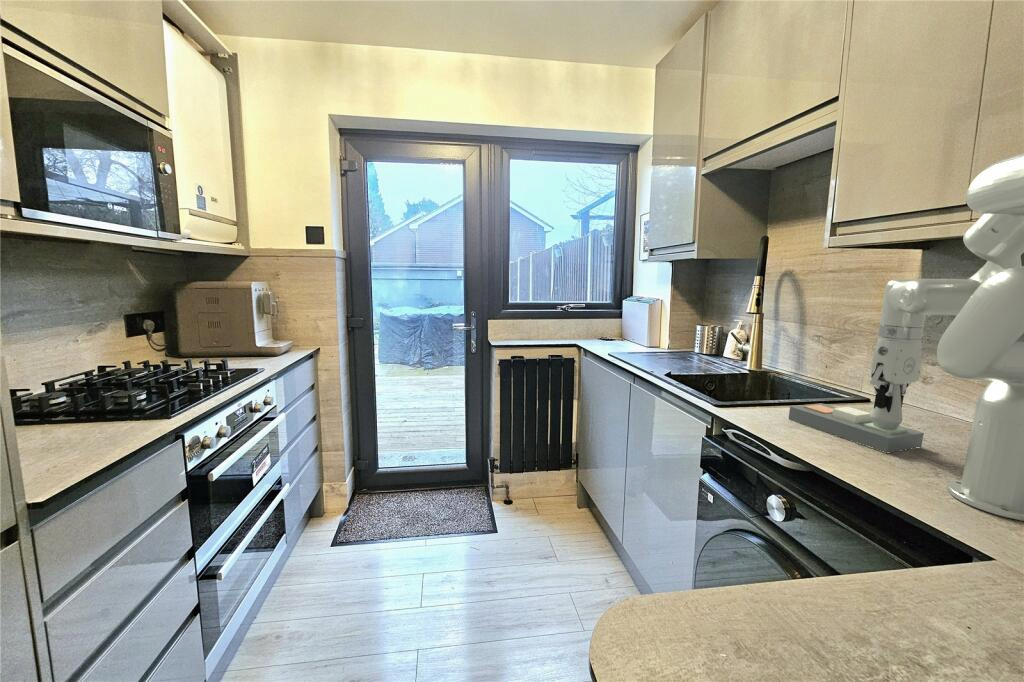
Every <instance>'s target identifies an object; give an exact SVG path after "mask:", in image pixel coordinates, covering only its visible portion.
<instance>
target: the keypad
mask: <svg viewBox="0 0 1024 682" xmlns="http://www.w3.org/2000/svg"><path fill="white" fill-rule="evenodd" d="M811 405H822V406H826V407H829V408H832V409H834V408H837V407H836V406H832V405H830V404H829V405H828V404H826V403H822V402H821V403H810V404H802V405H800V404H799V405H791V406H789V411H788V420H790V421H794V422H796V423H799V424H801V425H805V426H806V427H807V426H808V427H810V428H813V429H815V428H816V429H815V430H818V429H819V431H821V430H822V432H824V431H825V432H824V433H827V432H828V434H830V433H831V434H830V435H833V434H834V435H833V436H835V435H837V436H836V437H838V436H840V437H839V438H841V437H843V438H842V439H844V438H846V439H845V440H847V439H849V440H848V441H850V440H852V441H855V442H858V443H861V444H864V445H867V446H870V447H873V448H875V449H878V450H881V451H884V452H886V453H885V454H888V453H887V452H893V451H899V452H901V451H900V450H905V449H910V450H912V449H911V448H916V447H921V448H922V445H923V439H924V436H925V435H924V433H925V432H923V431H918V430H915V429H911V428H908V427H904V426H901V425H899V426H898V427H899V428H902V429H905V430H906V433H899V434H892V435H890V434H887V433H883V432H880V431H877V430H874V429H871V428H867V427H864V424H868V423H872V420H871V422H866V423H858V424H855V423H851V422H848V421H845V420H842V419H839V418H835V417H832V413H831V414H823V413H820V412H816V411H813V410H810V409H807V408H804V407H805V406H811ZM852 441H851V442H852ZM855 442H854V443H855ZM858 443H857V444H858ZM861 444H860V445H861ZM864 445H863V446H864ZM867 446H866V447H867ZM870 447H869V448H870ZM875 449H874V450H875ZM916 449H917V448H916ZM878 450H877V451H878ZM881 451H880V452H881ZM905 451H906V450H905ZM884 452H883V453H884ZM893 453H894V452H893Z"/></svg>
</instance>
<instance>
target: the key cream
mask: <svg viewBox="0 0 1024 682" xmlns="http://www.w3.org/2000/svg"><path fill="white" fill-rule="evenodd" d="M870 413H871V412H867V411H864V410H862V409H861V410H860V409H859V408H858V409H857V408H854V407H850V406H845V407H844V406H843V407H836V408H834V409H833V413H832V417H835V418H839V419H842V420H845V421H848V422H851V423H855V424H858V423H866V422H871V417H870Z"/></svg>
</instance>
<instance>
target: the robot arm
mask: <svg viewBox="0 0 1024 682" xmlns="http://www.w3.org/2000/svg"><path fill="white" fill-rule="evenodd" d="M965 201H966V204H967V206H968V207H969V209H970V210H972V211H973V212H974V213H975V212H976V213H978V214H981V216H979V218H977V220H976V221H975V222H974V223H972V225H971V226H970V227H969V228H968V229H967V230H966V231H965V232H964V234H963V238H962V239H963V240H962V241H963V245H965V247H966V248H967V250H969V251H970V252H971V253H972V254H974V255H976V256H977V257H979V258H981V259H982V260H984V261H986V262H985V264H984V265H983V266H982V267H981V268H980V269H979V270H978V271H976V272H975V273H974V274H973V275H972V276H971V277H969V278H915V279H912V278H911V279H909V278H908V279H904V278H903V279H900V278H897V279H896V278H895V279H890V280H889V281H888V282H887V283H886V285H885V287H884V294H883V299H882V306H881V307H882V308H881V314H880V321H879V326H878V333H877V342H876V345H875V348H874V352H873V355H872V358H871V359H872V361H871V364H870V375H869V376H870V378H871V380H869V381H870V382H869V384H870V385H871V387H873V388H874V393H875V397H874V404H873V406H874V409H875V407H876V406H877V407H878V408H881V409H882V408H885V407H886V409H887V411H888V413H889V412H890V410H891V406H892V400H893V396H891V393H892V389H893V384H902V385H900V393H901V407H902V408H903V404H904V398H905V395H906V394H907V388H908V387H909V386H910V385H911V384H913V383H916V382H918V381H919V379H920V376H921V369H922V357H923V356H922V355H923V345H922V340H923V339H922V338H923V334H924V333H923V332H924V329H925V328H924V327H925V323H926V317H927V316H929V315H930V316H955V317H954V319H952V321H951V322H950V324H949V325H948V327H947V328H946V329H945V331H944V333H943V334H942V336H941V338H940V339H939V341H938V344H937V348H936V359H937V363H938V364H939V366H940V368H941V369H942V370H943V371H945V372H946V373H948V375H950V376H953V377H956V378H959V379H965V380H975V381H976V380H977V381H990V382H989V383H988V384H987V385H986V386H985V387H984V388H983V390H982V391H981V393H980V395H979V396H978V399H977V401H976V406H975V409H974V410H975V411H974V415H973V420H972V426H971V429H970V435H969V439H968V444H967V445H968V446H967V452H966V455H965V462H964V466H963V471H962V476H961V477H962V478H961V479H959V480H953V481H950V482H949V483H948V485H947V491H948V493H949V494H950V495H951V496H953V498H955V499H957V500H959V501H960V502H963V503H965V504H966V505H969V506H971V507H972V508H973V507H974V508H976V509H979V510H981V511H984V512H987V513H989V514H993V515H996V516H1000V517H1004V518H1006V519H1007V518H1008V519H1011V520H1017V521H1022V522H1024V265H1022V258H1021V257H1022V254H1024V152H1021V153H1018V154H1014V155H1011V156H1009V157H1006V158H1003V159H1000V160H998V161H996V162H994V163H993V164H991V165H989V166H987V167H985V169H983V170H982V171H981V172H980V173H978V174H977V175H976V177H975V178H974V179H973V180H972V181H971V183H970V184H969V186H968V188H967V191H966V195H965ZM882 378H883V379H885V380H886V381H889V382H886V381H882ZM883 384H886V385H887V388H886V386H885V385H883Z"/></svg>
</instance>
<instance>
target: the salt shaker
mask: <svg viewBox="0 0 1024 682" xmlns="http://www.w3.org/2000/svg"><path fill="white" fill-rule="evenodd" d="M882 381H886V380H885V379H883V378H882ZM886 382H889V381H886ZM883 385H885V386H886V388H887V385H886V384H883ZM900 385H902V384H893V389H892V393H891V396H893V400H892V406H891V410H890V412H889V413H888V411H887V409H886V407H885V408H882V409H881V408H878V407H877V406H876V407H875V409H874V405H873V406H872V409H871V410H870V412H869V413H870V417H871V420H872V423H873V425H874V426H876V427H879V428H883V429H889V430H892V429H896V428H897V427H898V426H901V423H902V422H903V410H902V409H903V406H902V407H901V393H900Z"/></svg>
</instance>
